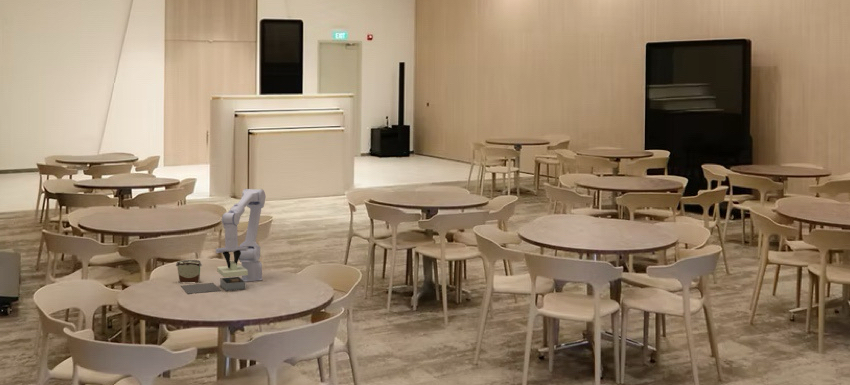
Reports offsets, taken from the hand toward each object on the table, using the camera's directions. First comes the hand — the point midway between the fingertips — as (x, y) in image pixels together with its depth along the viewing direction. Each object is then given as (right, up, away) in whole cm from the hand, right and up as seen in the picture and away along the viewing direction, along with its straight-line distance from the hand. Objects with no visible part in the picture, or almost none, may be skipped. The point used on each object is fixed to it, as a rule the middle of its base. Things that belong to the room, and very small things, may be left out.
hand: (232, 267), depth 431 cm
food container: (-23, -8, +15) cm, 28 cm away
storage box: (0, -9, +1) cm, 10 cm away
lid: (0, -3, 0) cm, 3 cm away
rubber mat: (-14, -10, -1) cm, 17 cm away
